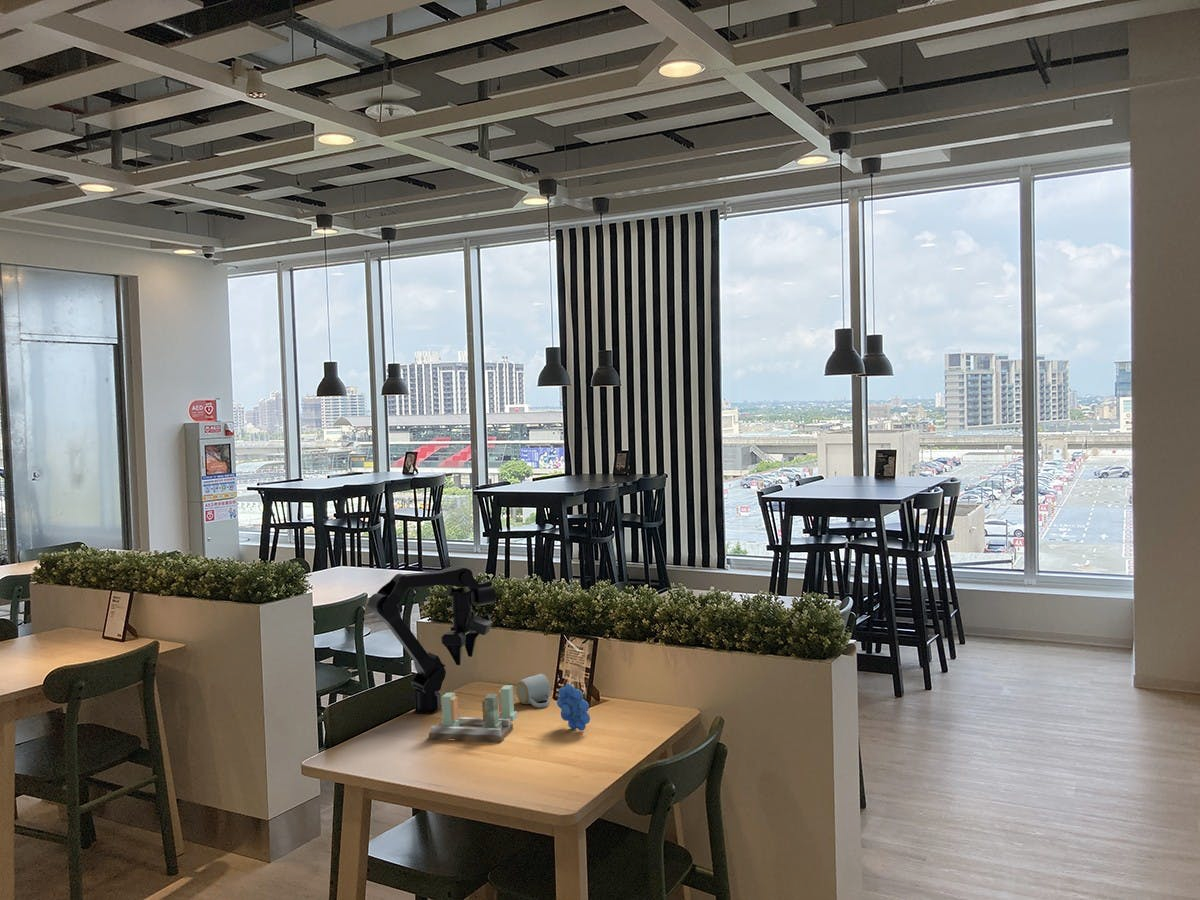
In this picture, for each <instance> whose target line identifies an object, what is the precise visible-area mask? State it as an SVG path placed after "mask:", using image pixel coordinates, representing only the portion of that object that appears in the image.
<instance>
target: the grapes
mask: <svg viewBox="0 0 1200 900" xmlns="http://www.w3.org/2000/svg"><path fill="white" fill-rule="evenodd" d="M558 695H559V697H558V698H557V700H556V705H557V706H558V708H559V709H561V711H560V717H561V719H562V720H563V721H566V722H567V725H568V727H569V728H570V729H571V730H578V731H581V732H583V731H585V729H586V725H587V724H589V723H590V721H591V715H590V714H589V713H588V711H589V709H590V706H589V705H590V704H589V703H588V701H587V700H585V699H584V698H583V697H584V694H583V692H582V690H581V689H578V688H575V687H574V685H572V684H570V683H567V684H566V685H565V686H563V687H560V688H559V689H558Z"/></svg>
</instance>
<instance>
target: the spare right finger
mask: <svg viewBox="0 0 1200 900" xmlns="http://www.w3.org/2000/svg"><path fill="white" fill-rule="evenodd" d="M497 694H498V713H500V714H499V719H510V721H513V722H514V721H515V720H516V719H517V718H518V711H516V710H515V708H514V706H515V703H514V701H515V700H514V686H513V685H512V684H511V685H508V684H507V685H503V686H502V687H501V688H500V690H498V693H497ZM516 717H517V718H516ZM514 719H515V720H514Z"/></svg>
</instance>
